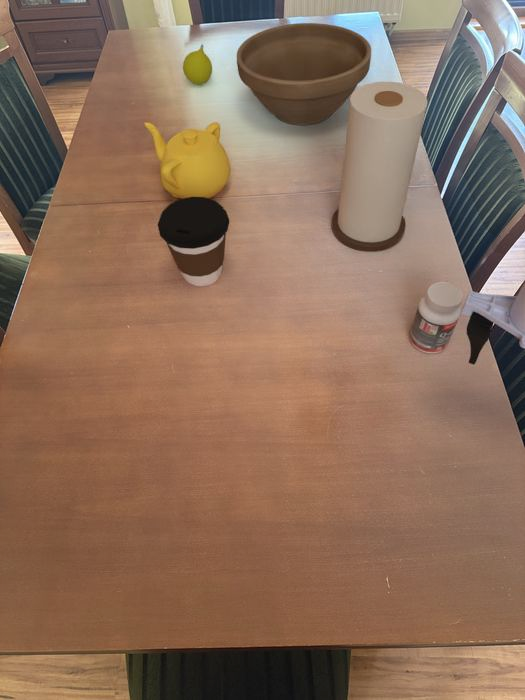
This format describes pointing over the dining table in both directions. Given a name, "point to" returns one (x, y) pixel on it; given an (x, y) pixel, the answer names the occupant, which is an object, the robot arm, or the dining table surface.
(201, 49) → the yellow-green pear
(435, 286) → the pill bottle
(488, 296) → the robot arm
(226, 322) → the dining table surface
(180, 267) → the coffee cup
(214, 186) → the teapot
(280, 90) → the flower pot
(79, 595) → the dining table surface
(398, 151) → the paper towel roll
